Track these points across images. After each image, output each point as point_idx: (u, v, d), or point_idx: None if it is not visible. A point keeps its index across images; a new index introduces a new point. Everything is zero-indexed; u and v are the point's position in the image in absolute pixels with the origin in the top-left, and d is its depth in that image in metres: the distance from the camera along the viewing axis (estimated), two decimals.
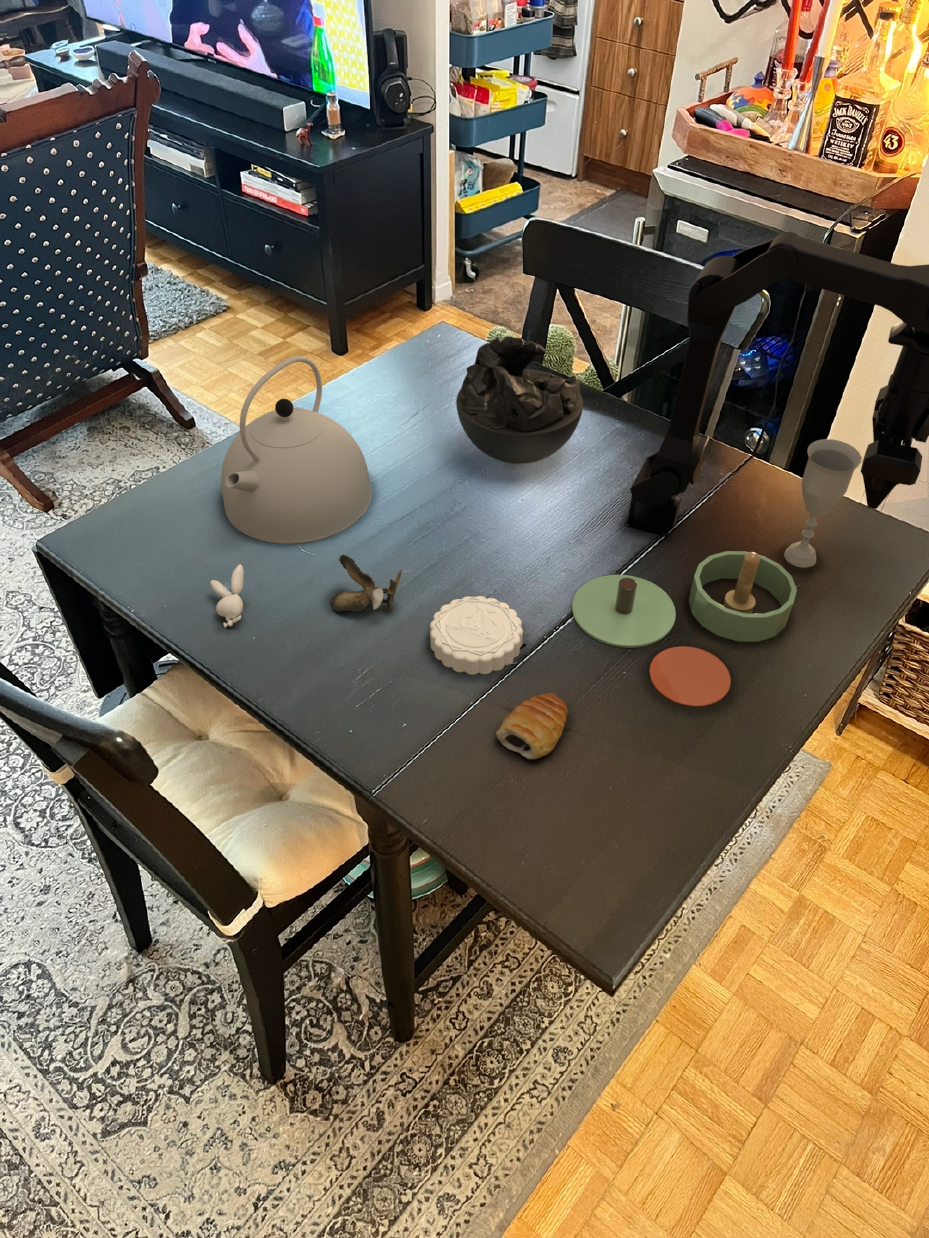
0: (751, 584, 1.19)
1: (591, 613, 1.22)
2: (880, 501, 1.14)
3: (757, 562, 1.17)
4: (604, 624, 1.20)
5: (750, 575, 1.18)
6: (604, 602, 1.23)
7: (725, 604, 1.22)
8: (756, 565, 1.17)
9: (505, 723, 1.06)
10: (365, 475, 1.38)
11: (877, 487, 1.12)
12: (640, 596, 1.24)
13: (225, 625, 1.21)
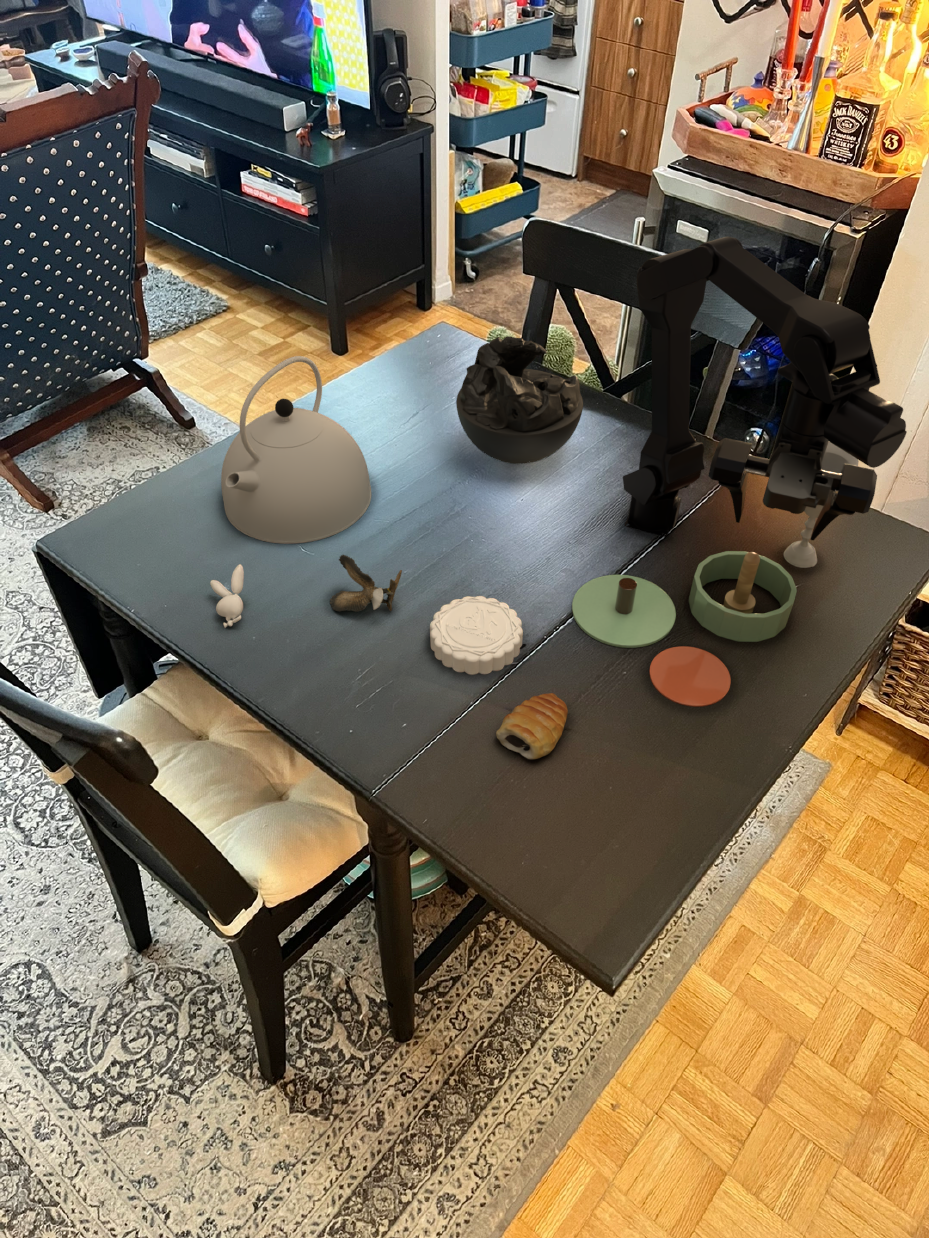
0: (751, 584, 1.19)
1: (591, 613, 1.22)
2: None
3: (757, 562, 1.17)
4: (604, 624, 1.20)
5: (750, 575, 1.18)
6: (604, 602, 1.23)
7: (725, 604, 1.22)
8: (756, 565, 1.17)
9: (505, 723, 1.06)
10: (365, 475, 1.38)
11: None
12: (640, 596, 1.24)
13: (225, 625, 1.21)
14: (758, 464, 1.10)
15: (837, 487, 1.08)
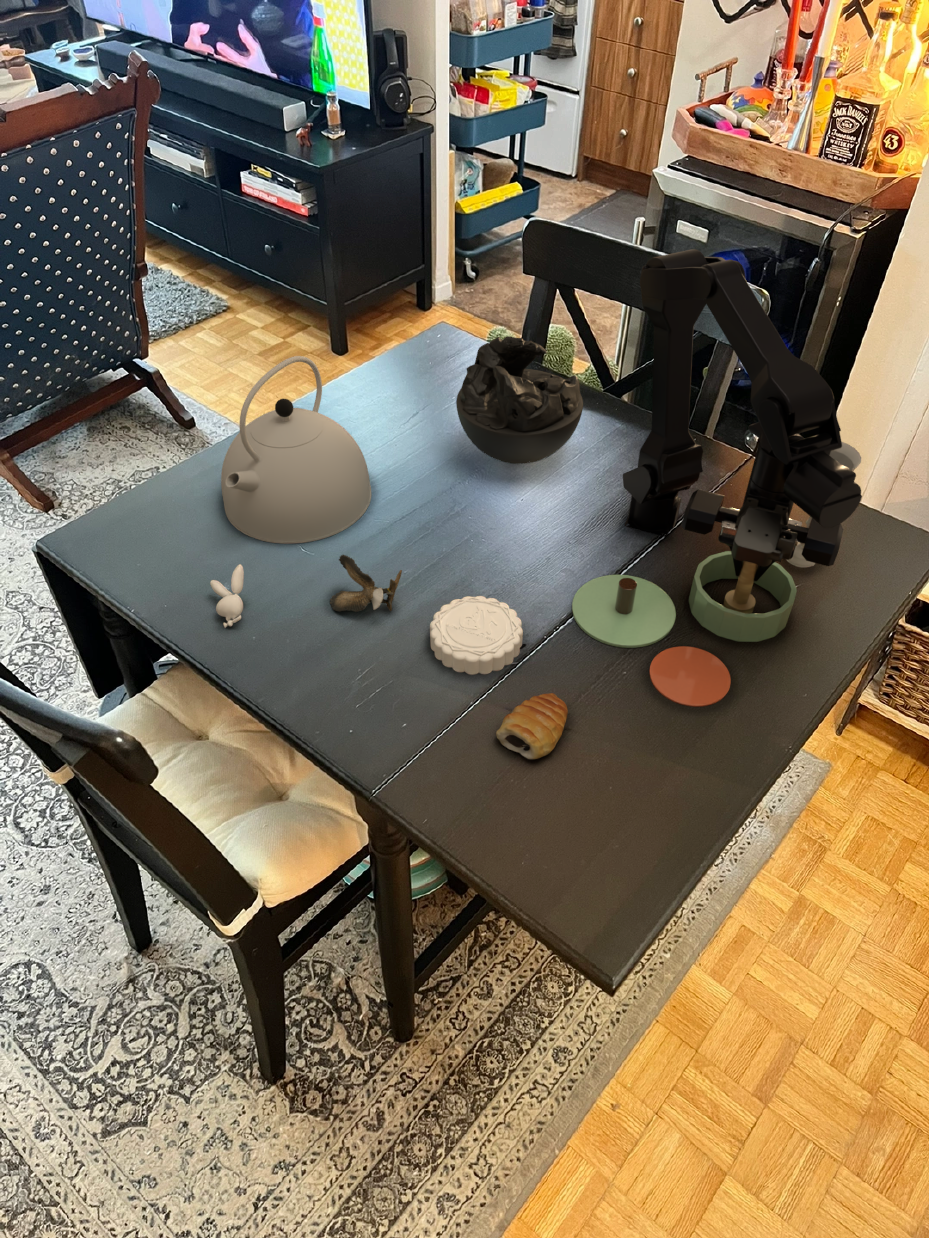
0: (751, 584, 1.19)
1: (591, 613, 1.22)
2: None
3: None
4: (604, 624, 1.20)
5: (750, 575, 1.18)
6: (604, 602, 1.23)
7: (725, 604, 1.22)
8: (756, 565, 1.17)
9: (505, 723, 1.06)
10: (365, 475, 1.38)
11: None
12: (640, 596, 1.24)
13: (225, 625, 1.21)
14: (729, 516, 1.14)
15: (804, 540, 1.12)
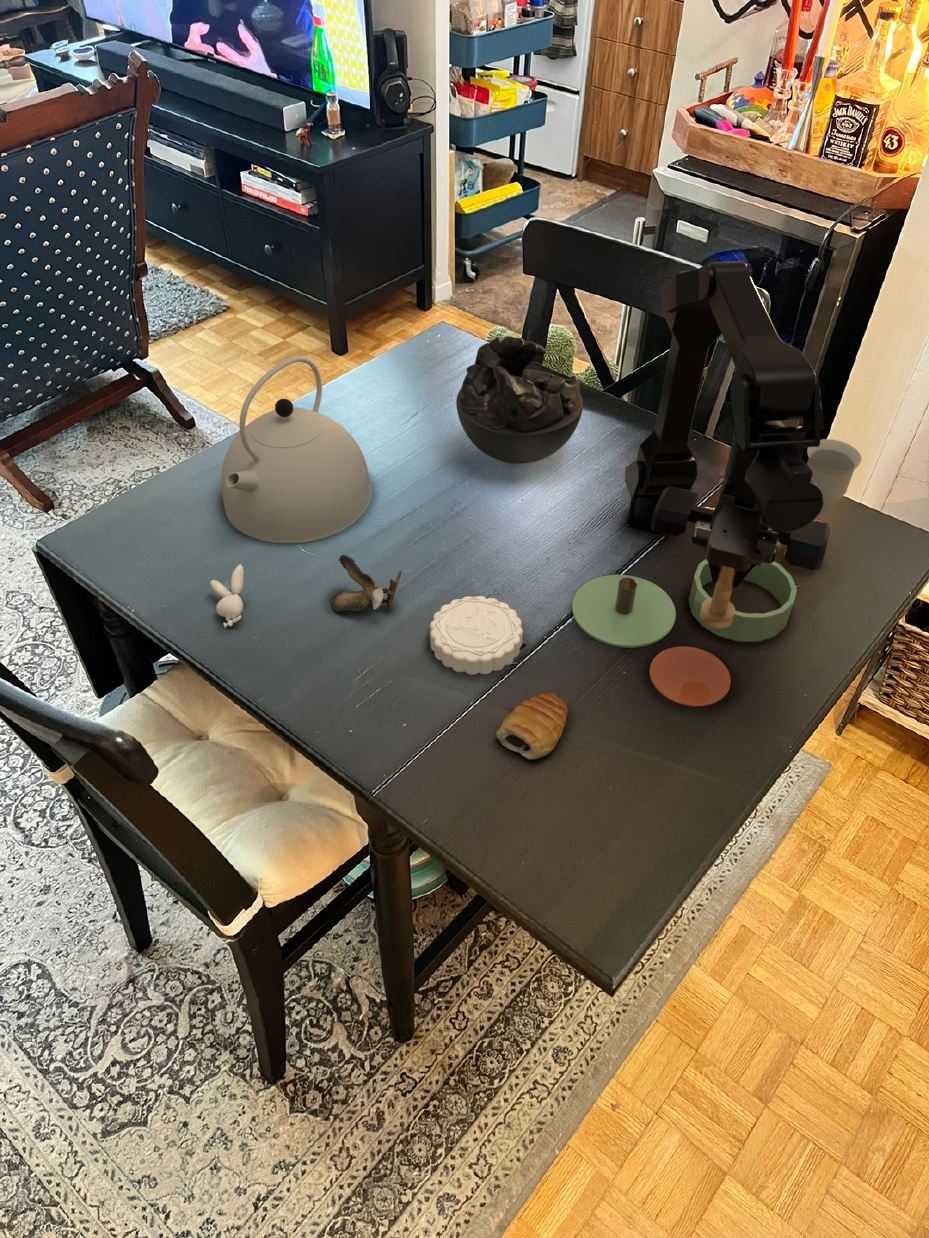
0: (730, 591, 1.07)
1: (591, 613, 1.22)
2: (710, 571, 1.07)
3: None
4: (604, 624, 1.20)
5: (729, 581, 1.06)
6: (604, 602, 1.23)
7: (702, 613, 1.10)
8: (735, 570, 1.05)
9: (505, 723, 1.06)
10: (365, 475, 1.38)
11: None
12: (640, 596, 1.24)
13: (225, 625, 1.21)
14: (703, 515, 1.02)
15: (787, 541, 1.00)
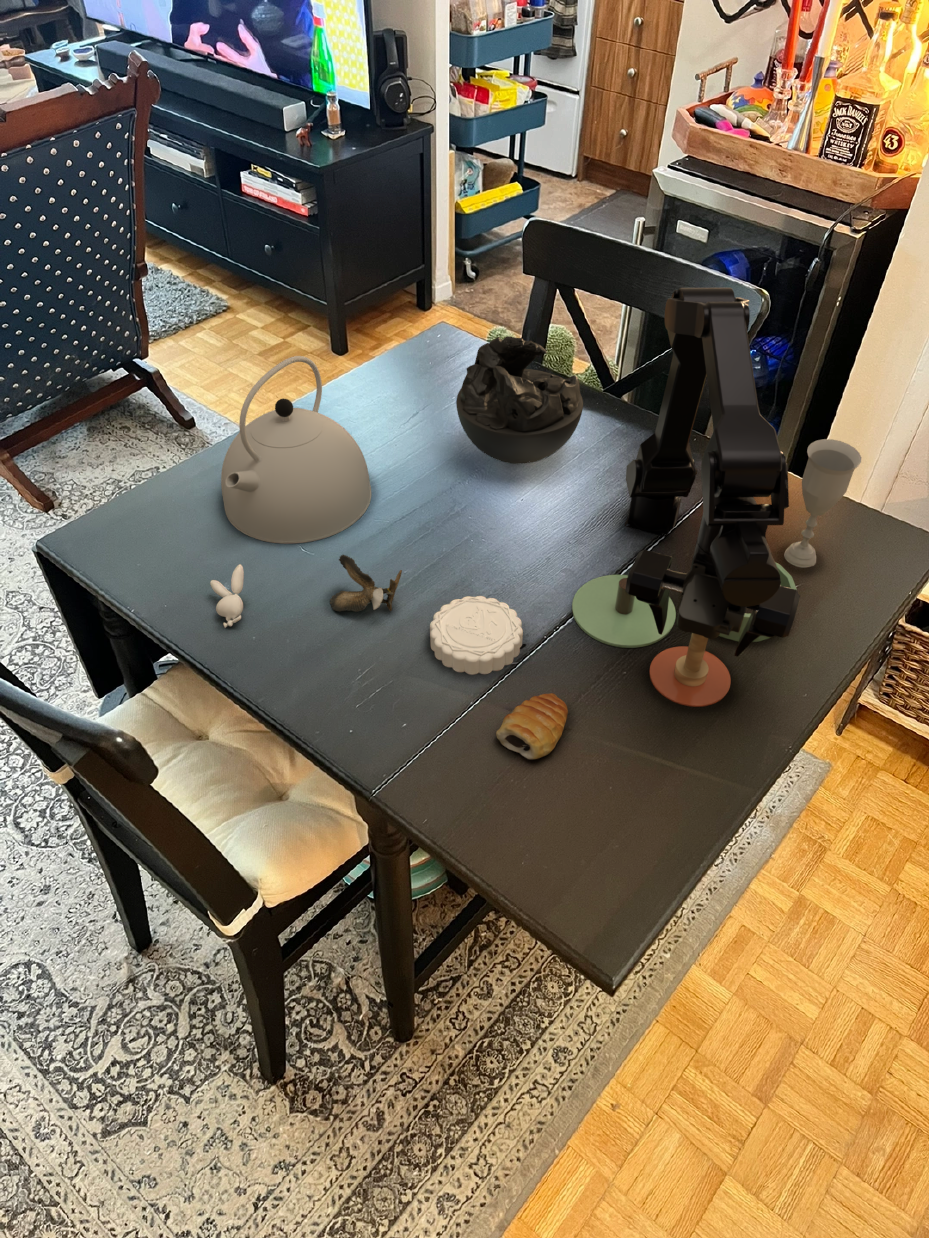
0: (702, 652, 1.10)
1: (591, 613, 1.22)
2: None
3: None
4: (604, 624, 1.20)
5: (701, 643, 1.09)
6: (604, 602, 1.23)
7: (676, 671, 1.13)
8: None
9: (505, 723, 1.06)
10: (365, 475, 1.38)
11: None
12: None
13: (225, 625, 1.21)
14: (676, 580, 1.04)
15: (758, 607, 1.02)
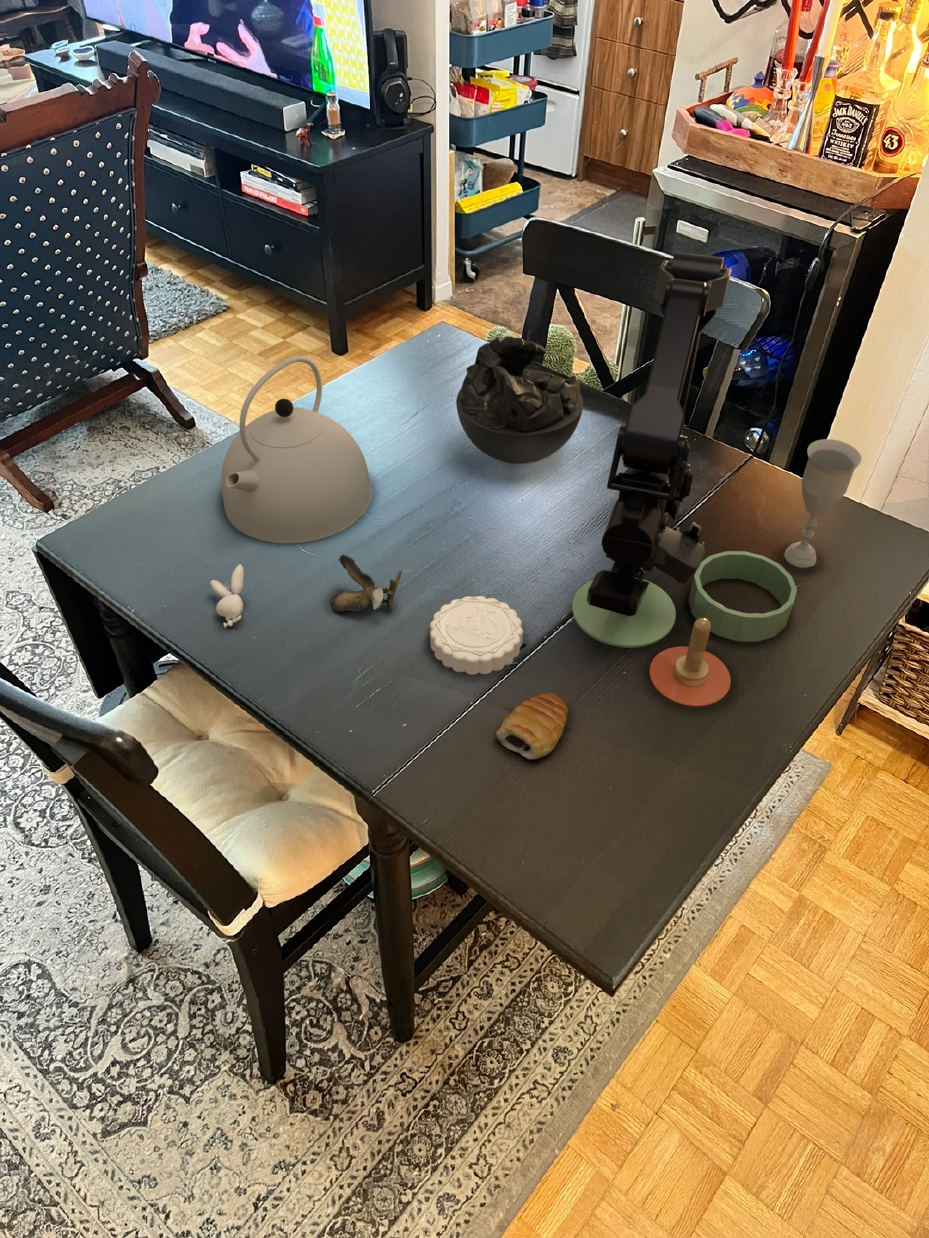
0: (702, 652, 1.10)
1: (591, 613, 1.22)
2: None
3: (708, 629, 1.07)
4: (604, 624, 1.20)
5: (701, 643, 1.09)
6: None
7: (676, 671, 1.13)
8: (707, 632, 1.08)
9: (505, 723, 1.06)
10: (365, 475, 1.38)
11: None
12: None
13: (225, 625, 1.21)
14: (627, 574, 1.13)
15: None
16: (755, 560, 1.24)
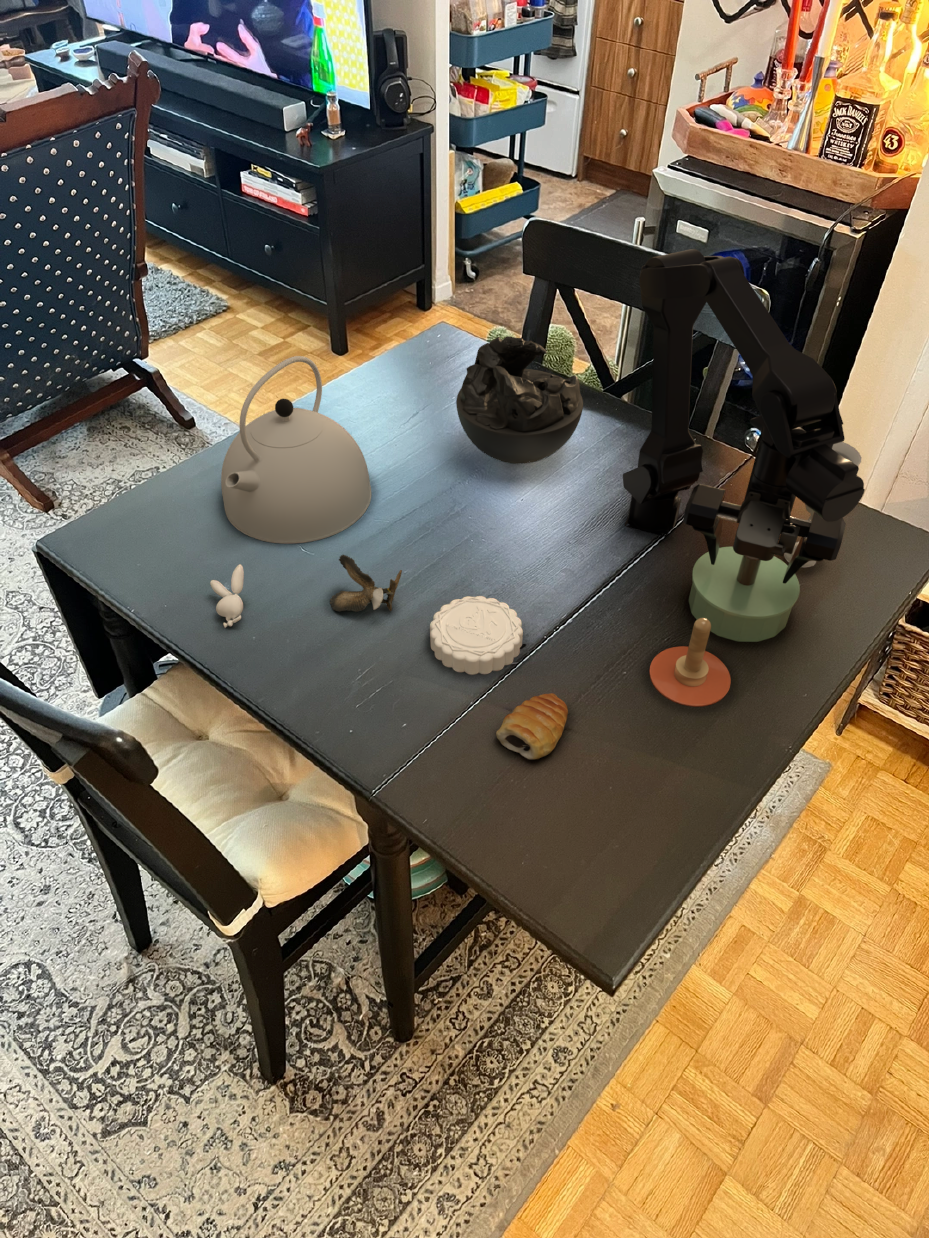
0: (702, 652, 1.10)
1: (731, 557, 1.23)
2: None
3: (708, 629, 1.07)
4: (718, 565, 1.22)
5: (701, 643, 1.09)
6: None
7: (676, 671, 1.13)
8: (707, 632, 1.08)
9: (505, 723, 1.06)
10: (365, 475, 1.38)
11: None
12: (768, 593, 1.18)
13: (225, 625, 1.21)
14: (731, 510, 1.13)
15: (806, 534, 1.11)
16: None
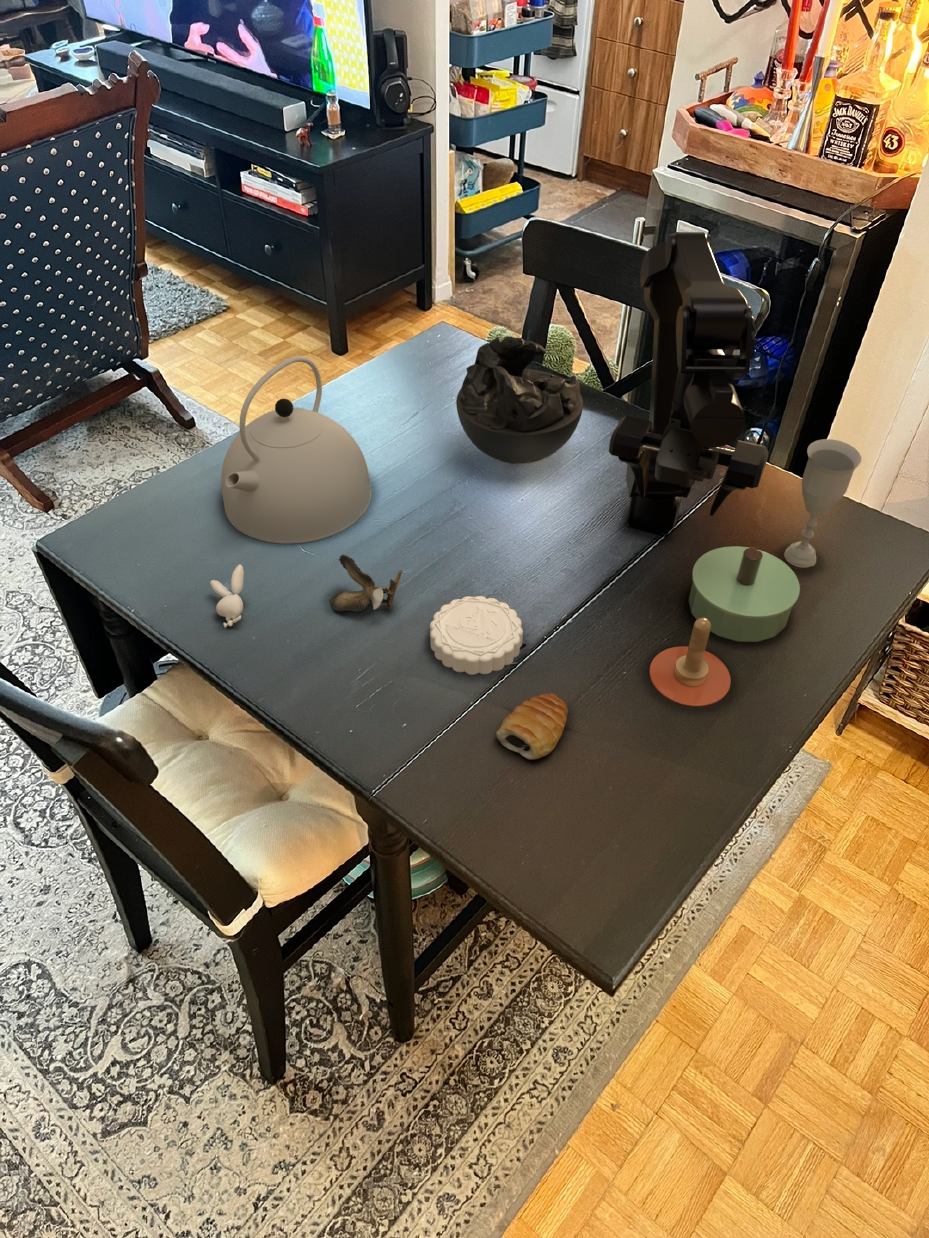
0: (702, 652, 1.10)
1: (731, 557, 1.23)
2: (638, 488, 1.19)
3: (708, 629, 1.07)
4: (718, 565, 1.22)
5: (701, 643, 1.09)
6: None
7: (676, 671, 1.13)
8: (707, 632, 1.08)
9: (505, 723, 1.06)
10: (365, 475, 1.38)
11: None
12: (768, 593, 1.18)
13: (225, 625, 1.21)
14: (656, 440, 1.13)
15: (730, 463, 1.11)
16: None
